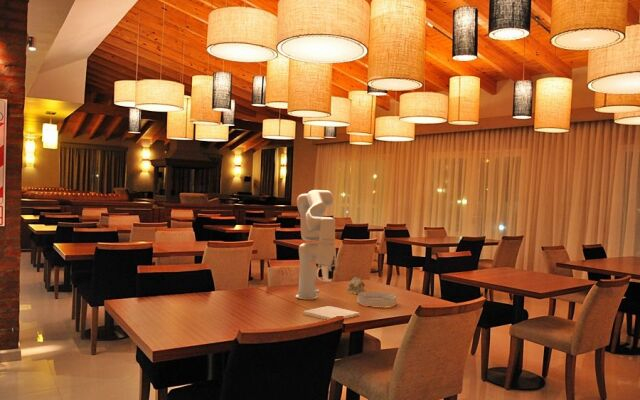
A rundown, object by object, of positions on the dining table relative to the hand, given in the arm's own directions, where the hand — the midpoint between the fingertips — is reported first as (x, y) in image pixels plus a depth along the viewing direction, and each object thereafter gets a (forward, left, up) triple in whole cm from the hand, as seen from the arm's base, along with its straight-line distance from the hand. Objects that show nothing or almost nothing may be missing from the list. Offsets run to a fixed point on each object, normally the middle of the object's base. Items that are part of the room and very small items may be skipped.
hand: (325, 277), depth 264 cm
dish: (-42, +4, -19) cm, 46 cm away
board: (0, +5, -18) cm, 19 cm away
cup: (0, 0, -2) cm, 2 cm away
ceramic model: (-60, -23, -18) cm, 67 cm away
